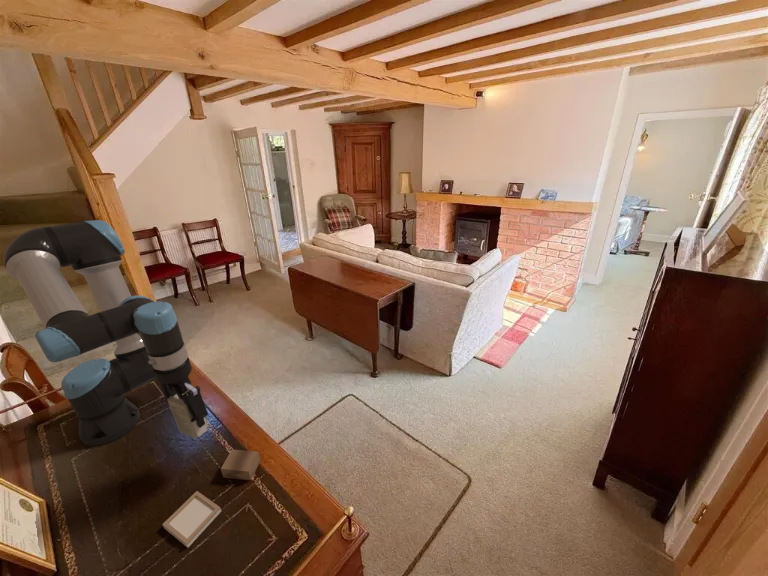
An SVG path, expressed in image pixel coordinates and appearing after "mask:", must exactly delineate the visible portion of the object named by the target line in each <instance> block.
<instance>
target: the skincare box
mask: <svg viewBox="0 0 768 576" xmlns="http://www.w3.org/2000/svg"><path fill="white" fill-rule="evenodd" d="M187 392H188V391H187ZM184 394H185V393H184ZM182 395H183V394H182ZM167 401H168V403H169V404H168V403H167V404H168V405H169V408H170V410H171V413H172V415H173V418H174V421H175V423H176V426H177V428H178V431H179V432H180V433H182V434H184V435H186V436H189V437H192V438H195V439H197V438H199V437H198V436H197V435H196V432H195V430H194V427H193V424H192V422H191V421H190V420H191V418H192V416H191V414H190V412H189V411H188V408H187V405H186V404H185V403H184V401H183V400H182V399H179V397H178V395H177V394H176V395H174V396H171V397H169V398H168V399H167ZM204 420H205V423H206V426H207V428H208V427H209V425H208V421H207V419H206V416H205V417H204Z"/></svg>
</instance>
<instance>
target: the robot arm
mask: <svg viewBox="0 0 768 576" xmlns="http://www.w3.org/2000/svg"><path fill="white" fill-rule="evenodd" d="M125 254H126V251H125V247H124V245H123V243H122V240H121V239H120V237H119V236H118V234H117V232H116V231H115V230H114V228H113V227H112V226H111V224H109V223H108V222H107V221H105V220H102V219H95V220H83V221H77V222H70V223H64V224H58V225H57V224H56V225H49V226H44V227H43V226H40V227H35V228H32V229H29V230H27V231H25V232H22V233H21V234H19V235H18V236H17V237H14V239H13V240H12V241H11V242H10V243H9V244H8V245H7V247H6V249H5V251H4V253H3V259H2V260H3V266H4V268H5V270H6V273H8V275H9V276H10V277H11V278H13V279H14V280H16V281H18V282H19V284H20V286H21V287H22V289H23V290H24V293H25V295H26V297H27V299H28V300H29V302H30V304H31V306H32V307H33V309H34V311H35V313H36V315H37V317H38V318H39V320H40V322H41V323H42V325H43V327H44V329H41V330H38V331H37V332H35V333H34V335H35V336H34V337H35V339H36V341H37V343H38V345H39V347H40V349H41V350H42V352H43V354H44V356H45V357H46V359H47V360H48V361H49V362H51V363H58V362H62V361H65V360H68V359H71V358H76V357H79V356H80V355H82V354H85V353H88V352H90V351H93V350H96V349H98V348H100V347H103V346H107V345H109V344H112V343H114V342H115V344H116V347H115V349H114V351H113V354H114V356H115V358H112V359H110V360H109V359H107V358H105V357H103V358H102V357H101V358H96V359H95V358H94V359H93V358H92V359H89V360H87V361H85V362H82V363H81V364H79V365H76V366H75V367H73V368H72V369H71V370H70V371H68V373H66V375H64V377H63V379H62V380H61V385H60V386H61V389H62V392H63V396H64V397H65V399H67V400H68V401H69V403H70V405H71V408H72V409H73V411H74V413H75V415H76V417H77V418H78V437H79V439H80V440H81V442H82V443H83V444H84V445H86V446H90V447H91V446H92V447H94V446H95V447H97V446H101V445H106V444H109V443H112V442H113V441H116V440H118V439H119V438H121V437H123V436H125V435H126V434H127V433H129V432H131V430H132V429H133V428H134V427H135V426H136V425H137V423H138V422H139V421H140V417H141V414H140V411H139V408H138V407H137V405H135V404H134V403H133V402H132V401H130V400H128V398H126V397H125V394H127V393H128V392H131V391H134V390H135V389H137V388H139V387H141V386H143V385H146V384H148V383H149V382H152V381H154V380H157V381H158V382H159V383H160V387H161V389H162V392H163V395H164V398H165V399H164V400H165V401H166V404H168V405H169V403H168V401H167V399H168V398H170V397H171V396H174V395H176V394H177V395H178V397H179V399H182V400H183V401H184V403H185V404H186V405H187V408H188V411H189V412H190V414H191V416H192V418H191V420H190V421H191V422H192V424H193V427H194V430H195V432H196V435H197V436H198V437H197V438H199V437H201V436H202V435H203V434H204V433H206V431H208V430H209V429H208V427H207V426H206V423H205V420H204V417H205V418H206V417H207V416H209V413H208V410H207V407H206V405H205V402H204V398H203V396H202V394H201V388H200V386H199V385H196V386H195V387H194V386H193V384H192V381H191V379H190V377H189V375H191V372H192V368H193V367H192V364H191V361H190V358H189V354H188V350H187V346H186V343H185V342H184V338H183V335H182V332H181V329H180V326H179V321H178V315H177V314H176V312H175V311H174V308H173V306H172V304H171V303H169V302H166V301H164V302H163V301H161V300H159V301H155V300H153V299H151V298H149V297H147V296H144V295H141V294H140V295H139V294H138V295H132V294H131V292H130V290H129V287H128V285H127V283H126V281H125V278H124V276H123V274H122V272H121V269H120V265H121V263H122V262H123V259H122V257H121V256H123V255H125ZM70 266H71V267H72V270H73V272H75V273H78V274H80V275H83V277H84V279H85V281H86V283H87V286H88V287H89V290H90V292H91V293H92V296H93V298H94V301H95V302H96V303H97V306H98V309H99V310H100V312H96V313H93V314H90V315H89V314H88V311H87V310H86V309H85V307H84V306H83V304H82V302H81V301H80V300H79V298H78V296H77V294H76V293H75V291H74V290H73V289H72V286H70V284H69V283H68V281H67V280H66V278H65V276H64V275H63V273H62V272H61V271H60V268H65V267H66V268H67V267H70ZM187 391H188V392H187ZM184 393H185V394H184ZM182 394H183V395H182Z"/></svg>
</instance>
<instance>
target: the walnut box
mask: <svg viewBox="0 0 768 576" xmlns="http://www.w3.org/2000/svg"><path fill="white" fill-rule="evenodd" d="M260 462H261V456H260V453H259V451H256V450H255V451H253V450H252V451H251V450H243V449H233V448H232V449H231V450H230V452H229V454H228V456H227V457H226V459H225V461H224V462H223V464H222V466H220V471H221V474H222V478H225V479H232V480H233V479H234V480H244V481H251V480H252V479H253V477H254V475H255V473H256V471H257V468H258V466H259V464H260Z"/></svg>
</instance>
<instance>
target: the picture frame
mask: <svg viewBox="0 0 768 576" xmlns="http://www.w3.org/2000/svg"><path fill="white" fill-rule="evenodd" d="M221 512H222V509H221V507H220V506H219V505H218V504H216V503H215V502H213V501H212V500H211V499H209V498H208V497H206V496H205V495H204V494H202V493H201V492H199V491H198V490H196V491H195V492H194V493H193V494H192V495H191V496H189V498H188V499H187V500H185V502H184V503H183V504H182V505H181V506H180V507H178V509H176V510H175V512H173V514H172V515H170V516H169V518H168V519H166V520H165V521H164V522H163V523H162V527H163V529H165V531H167V532H168V533H169V534H171V535H172V536H173V537H174V538H175V539H177V540H178V541H179V542H180V543H181V544H183V545H184V546H185V547H186V548H190V546H191V545H192V544H193V543H194V542H195V540H196V539H198V538H199V536H200V535H202V533H203V532H204V531H205V530H206V528H207V527H209V525H210V524H211V523H212V522H213V521H214V520H215V519H216V518H217V517H218V515H219V514H220V513H221Z"/></svg>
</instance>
